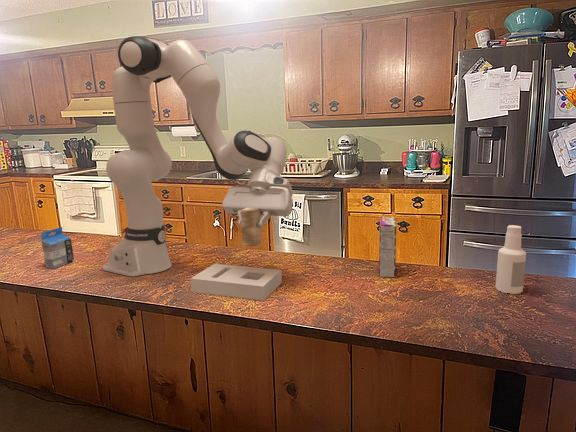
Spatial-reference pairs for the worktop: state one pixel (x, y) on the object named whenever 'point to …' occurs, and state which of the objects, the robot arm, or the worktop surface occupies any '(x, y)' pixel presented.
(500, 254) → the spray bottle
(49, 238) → the label tape box
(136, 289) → the worktop surface
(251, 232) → the square peg
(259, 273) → the socket board
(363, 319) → the worktop surface
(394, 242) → the candy bar box
